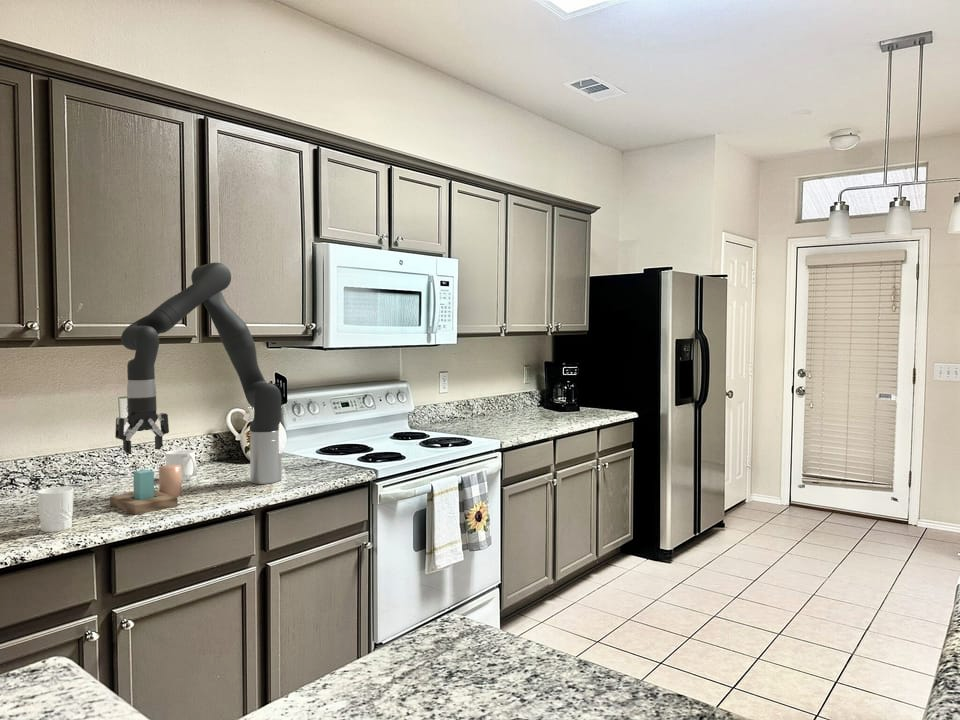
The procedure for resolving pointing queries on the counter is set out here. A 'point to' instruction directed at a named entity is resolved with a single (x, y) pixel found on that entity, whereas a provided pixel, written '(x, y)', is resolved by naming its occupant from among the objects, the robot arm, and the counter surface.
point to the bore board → (143, 502)
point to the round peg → (170, 480)
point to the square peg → (143, 484)
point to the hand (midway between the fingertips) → (143, 451)
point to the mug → (183, 462)
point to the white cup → (55, 508)
